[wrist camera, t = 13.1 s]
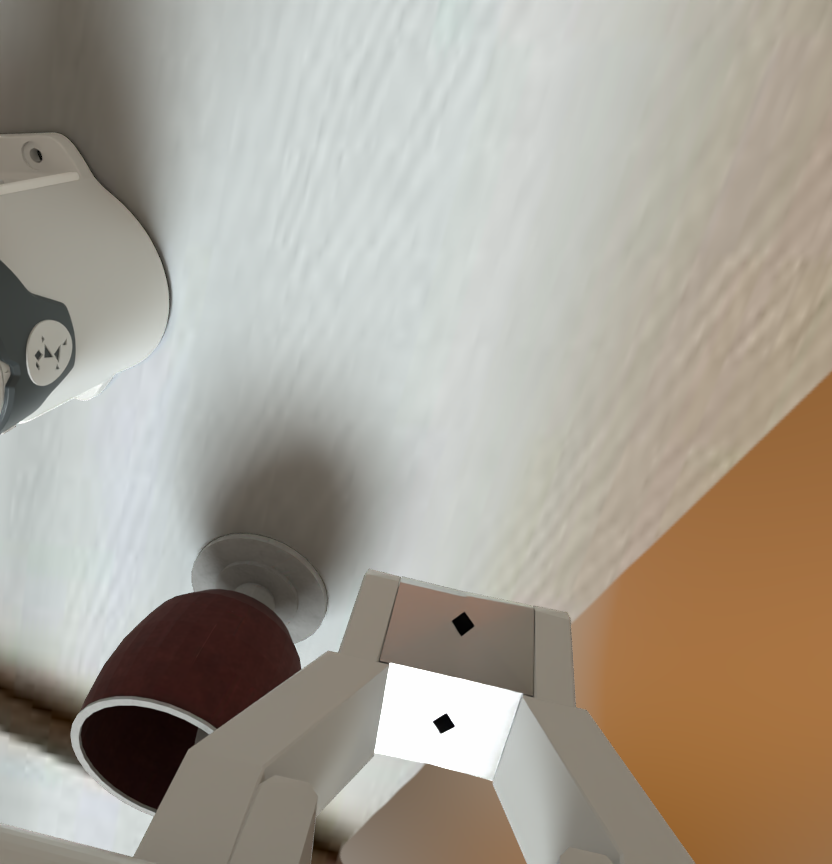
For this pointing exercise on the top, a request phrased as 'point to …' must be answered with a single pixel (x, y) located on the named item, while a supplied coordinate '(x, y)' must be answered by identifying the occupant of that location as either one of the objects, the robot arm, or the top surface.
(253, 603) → the mate gourd
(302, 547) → the top surface
